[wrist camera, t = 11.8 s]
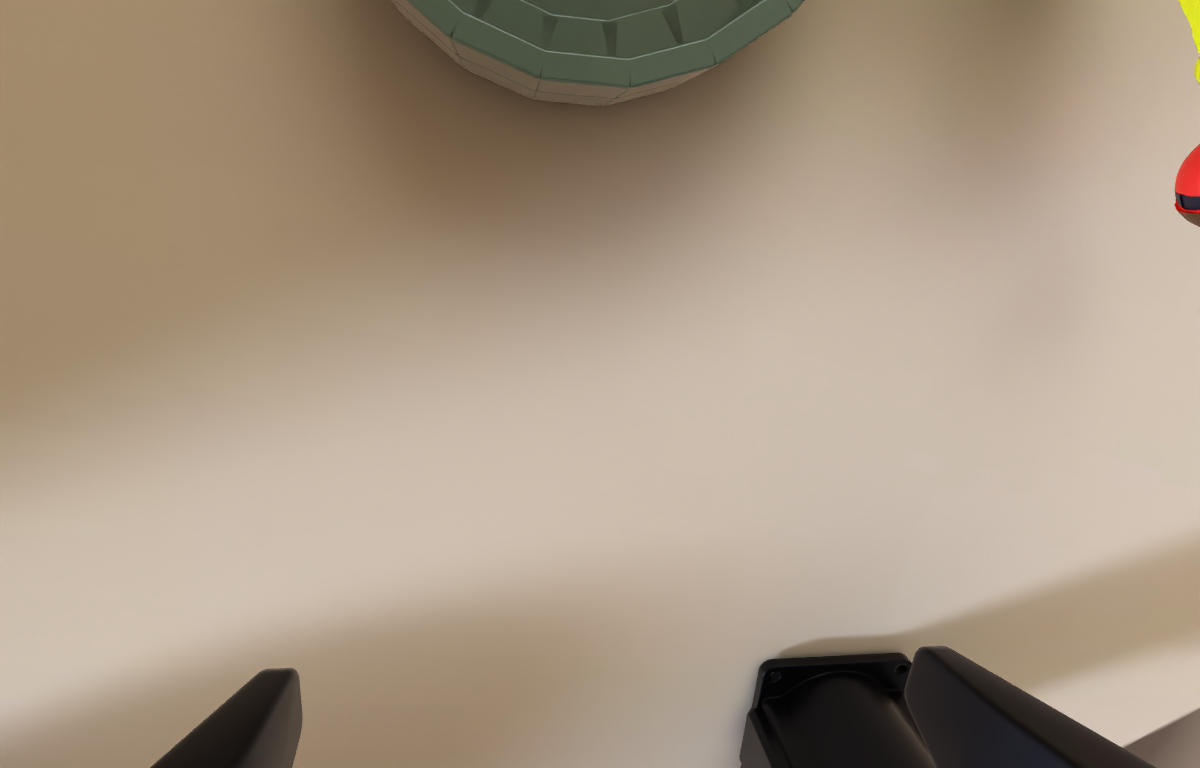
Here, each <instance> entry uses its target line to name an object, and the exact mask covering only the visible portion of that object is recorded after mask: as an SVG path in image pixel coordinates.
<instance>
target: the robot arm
mask: <svg viewBox="0 0 1200 768" xmlns="http://www.w3.org/2000/svg"><path fill="white" fill-rule="evenodd" d="M772 672H774V673H772ZM771 673H772V674H771ZM301 729H302V705H301V694H300V682H299V675H298V673H297V671H296V670H295V669H293V668H280V669H266V670H263V671H261V672H259V673H258V674H257V675H256V676H255V677H253V678H252V679H251V680H250V681H249V682H248V683H247V684H245V685H244V686H243V687H242V688H241V689H240V690H239V691H237V692H236V693H235V694H234V695H233V696H232V697H230V698H229V699H228V700H227V701H226V702H225V703H224V704H222V705H221V706H220V707H219V708H218V709H217V710H216V711H214V712H213V713H212V714H211V715H210V716H209V717H208V718H206V719H205V720H204V721H203V722H202V723H201V724H200V725H198V726H197V727H196V728H195V729H194V730H193V731H192V732H190V733H189V734H188V735H187V736H186V737H185V738H184V739H182V740H181V741H180V742H179V743H178V744H177V745H175V746H174V747H173V748H172V749H171V750H170V751H169V752H167V753H166V754H165V755H164V756H163V757H162V758H161V759H159V760H158V761H157V762H156V763H155V764H154V765H153V766H151V767H150V768H292V765H293V761H294V758H295V754H296V750H297V746H298V742H299V738H300V734H301ZM740 761H741V768H1156V767H1154V766H1153V765H1151V764H1149V763H1147V762H1146V761H1144V760H1142V759H1141V758H1139V757H1137V756H1135V755H1134V754H1132V753H1130V752H1128V751H1127V750H1125V749H1123V748H1122V747H1120V746H1118V745H1116V744H1115V743H1113V742H1111V741H1109V740H1108V739H1106V738H1104V737H1102V736H1101V735H1099V734H1097V733H1096V732H1094V731H1092V730H1090V729H1089V728H1087V727H1085V726H1083V725H1082V724H1080V723H1078V722H1076V721H1075V720H1073V719H1071V718H1070V717H1068V716H1066V715H1064V714H1063V713H1061V712H1059V711H1057V710H1056V709H1054V708H1052V707H1050V706H1049V705H1047V704H1045V703H1044V702H1042V701H1040V700H1038V699H1037V698H1035V697H1033V696H1031V695H1030V694H1028V693H1026V692H1025V691H1023V690H1021V689H1019V688H1018V687H1016V686H1014V685H1012V684H1011V683H1009V682H1007V681H1005V680H1004V679H1002V678H1000V677H999V676H997V675H995V674H993V673H992V672H990V671H988V670H986V669H985V668H983V667H981V666H980V665H978V664H976V663H974V662H973V661H971V660H969V659H967V658H966V657H964V656H962V655H960V654H959V653H957V652H955V651H954V650H952V649H950V648H948V647H944V646H931V647H921V648H919V649H918V650H917V651H916V653H915V656H914V659H913V662H912V663H911V662H910V660H909V659H908V658H907V657H906V656H905V655H904V654H902V653H886V654H866V655H846V656H826V657H806V658H786V659H771V660H767V661H766V662H764V663H763V664H762V665H761V666H760V669H759V673H758V678H757V683H756V689H755V694H754V699H753V704H752V708H751V709H750V711H749V712H748V714H747V719H746V724H745V730H744V735H743V740H742V746H741V751H740Z"/></svg>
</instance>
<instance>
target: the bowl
mask: <svg viewBox="0 0 1200 768" xmlns="http://www.w3.org/2000/svg"><path fill="white" fill-rule="evenodd" d="M804 1H805V0H392V2H393V3H394V5H395V6H396V8H397V9H398V10H399V11H400V12H401V14H402V15H403V16H404V17H405V18H407V19H408V20H409V21H410V22H411V23H412V24H413V25H415V26H416V27H417V28H418V29H419V30H420V31H421V32H422V33H424V34H425V35H426V36H427V37H428V38H429V39H430V40H432V41H433V42H434V43H435V44H436V45H437V46H438V47H439V48H441V49H442V50H443V51H444V52H445V53H446V54H447V55H449V56H450V57H451V58H452V59H453V60H454V61H455V62H456V63H458V64H459V65H460V66H461V67H463V68H465V69H466V70H467V71H470V72H472V73H474V74H476V75H479V76H481V77H483V78H485V79H488V80H490V81H492V82H494V83H497V84H499V85H501V86H503V87H505V88H508V89H510V90H512V91H514V92H517V93H519V94H521V95H523V96H526V97H528V98H530V99H535V100H539V101H550V102H562V103H573V104H584V105H595V106H603V105H605V106H608V105H612V104H616V103H619V102H623V101H627V100H631V99H635V98H638V97H642V96H646V95H650V94H654V93H657V92H661V91H665V90H669V89H672V88H674V87H676V86H678V85H680V84H682V83H684V82H686V81H688V80H690V79H692V78H693V77H696V76H698V75H700V74H702V73H704V72H706V71H708V70H710V69H712V68H714V67H716V66H718V65H719V64H721V63H722V62H724V61H725V60H727V59H728V58H730V57H731V56H733V55H734V54H736V53H737V52H739V51H740V50H742V49H743V48H745V47H746V46H748V45H749V44H751V43H752V42H754V41H755V40H756V39H758V38H759V37H761V36H762V35H764V34H765V33H767V32H768V31H770V30H771V29H773V28H774V27H776V26H777V25H779V24H780V23H782V22H783V21H785V20H786V19H788V18H789V17H791V15H792V14H793V13H794V12H796V10H797V9H798V8H799V7H800V5H801V4H802V3H803V2H804Z"/></svg>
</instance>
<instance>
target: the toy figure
mask: <svg viewBox="0 0 1200 768" xmlns="http://www.w3.org/2000/svg"><path fill="white" fill-rule="evenodd" d="M1179 2H1180V4H1181V7H1182V9H1183V11H1184V13H1185V15H1186V17H1187V19H1188V21H1189V23H1190V25H1191V27H1192V34H1193V39H1194V42H1195V45H1196V47H1197V50H1198V52H1199V55H1200V0H1179ZM1194 75H1195V78H1196V80H1197V81H1198V83H1199V84H1200V57H1199V59H1198V60H1197V62H1196V65H1195V69H1194ZM1175 196H1176V203H1175V207H1176V209H1177V211H1178V212H1179V213H1180V214H1181V215H1182V216H1183V217H1184V218H1185V219H1186V220H1187V221H1189V222H1191V223H1193V224H1195V225H1197V226H1199V227H1200V144H1199V145H1198V146H1197V147H1196V148H1195V149H1194V150H1193V151H1192V152H1191V153H1190V154H1189V155H1188V157H1187V158H1186V159H1185V160H1184V162H1183V164H1182V165H1181V167H1180V169H1179V172H1178V174H1177V178H1176V182H1175Z"/></svg>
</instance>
